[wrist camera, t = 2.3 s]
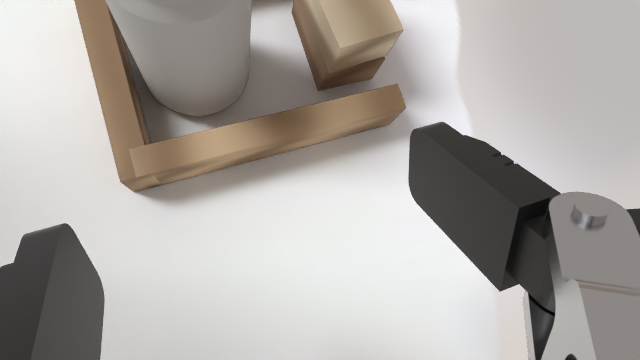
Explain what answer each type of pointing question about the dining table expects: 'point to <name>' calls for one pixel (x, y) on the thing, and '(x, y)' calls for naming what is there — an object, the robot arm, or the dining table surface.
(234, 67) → the beverage can
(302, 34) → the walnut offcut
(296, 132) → the frame
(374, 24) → the birch offcut
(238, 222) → the dining table surface
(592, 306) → the robot arm
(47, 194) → the dining table surface
